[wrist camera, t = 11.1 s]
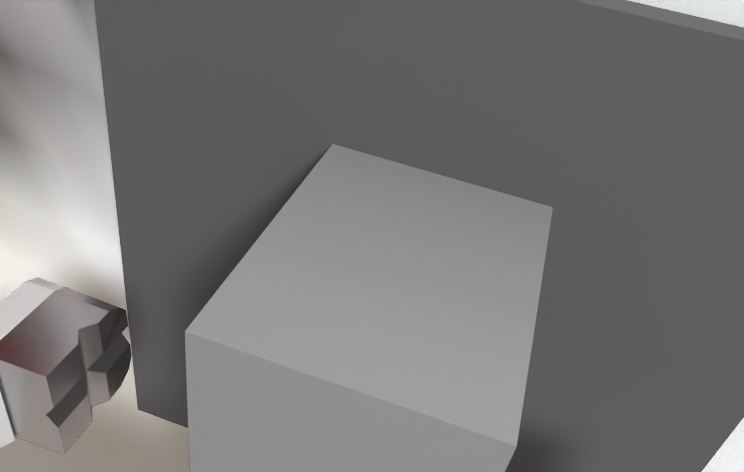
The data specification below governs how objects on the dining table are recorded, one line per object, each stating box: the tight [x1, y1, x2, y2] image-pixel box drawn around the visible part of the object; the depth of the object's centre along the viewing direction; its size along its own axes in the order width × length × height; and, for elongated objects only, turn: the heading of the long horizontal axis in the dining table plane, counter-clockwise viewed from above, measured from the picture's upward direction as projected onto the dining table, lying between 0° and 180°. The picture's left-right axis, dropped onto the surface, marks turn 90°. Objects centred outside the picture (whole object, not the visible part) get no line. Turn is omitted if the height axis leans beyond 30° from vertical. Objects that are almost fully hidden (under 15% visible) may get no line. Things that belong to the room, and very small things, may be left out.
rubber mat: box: [94, 0, 744, 472], centre depth 12 cm, size 12×12×1 cm
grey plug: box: [185, 144, 553, 472], centre depth 11 cm, size 8×4×5 cm, turn 171°
